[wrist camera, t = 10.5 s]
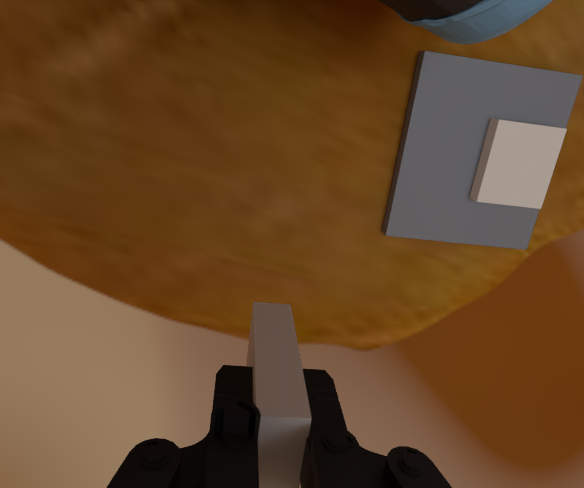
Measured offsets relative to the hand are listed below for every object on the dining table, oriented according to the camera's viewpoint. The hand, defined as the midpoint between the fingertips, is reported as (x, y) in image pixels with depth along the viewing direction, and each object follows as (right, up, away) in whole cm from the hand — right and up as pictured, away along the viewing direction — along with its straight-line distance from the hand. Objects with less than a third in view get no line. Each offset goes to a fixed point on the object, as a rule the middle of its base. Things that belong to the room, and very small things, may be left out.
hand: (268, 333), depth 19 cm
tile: (+20, +12, +26) cm, 35 cm away
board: (+20, +13, +29) cm, 37 cm away
